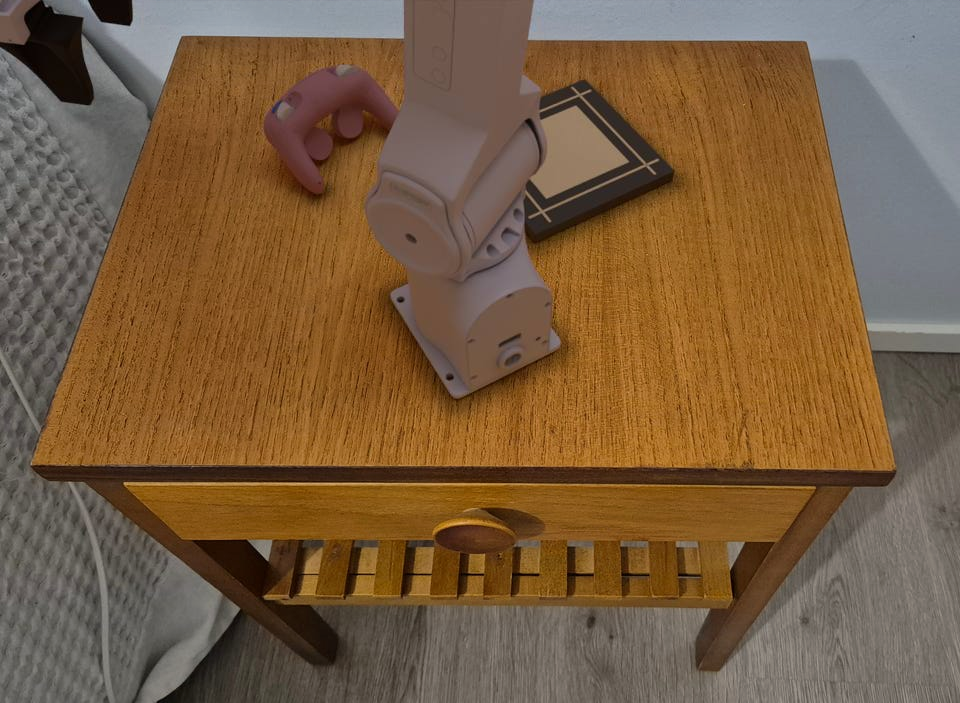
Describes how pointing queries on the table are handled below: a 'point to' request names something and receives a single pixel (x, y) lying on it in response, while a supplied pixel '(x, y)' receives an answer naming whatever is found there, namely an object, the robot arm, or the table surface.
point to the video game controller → (314, 101)
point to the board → (586, 162)
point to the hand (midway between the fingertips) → (97, 59)
